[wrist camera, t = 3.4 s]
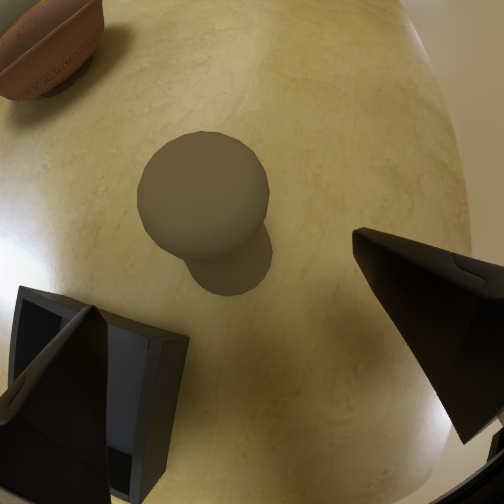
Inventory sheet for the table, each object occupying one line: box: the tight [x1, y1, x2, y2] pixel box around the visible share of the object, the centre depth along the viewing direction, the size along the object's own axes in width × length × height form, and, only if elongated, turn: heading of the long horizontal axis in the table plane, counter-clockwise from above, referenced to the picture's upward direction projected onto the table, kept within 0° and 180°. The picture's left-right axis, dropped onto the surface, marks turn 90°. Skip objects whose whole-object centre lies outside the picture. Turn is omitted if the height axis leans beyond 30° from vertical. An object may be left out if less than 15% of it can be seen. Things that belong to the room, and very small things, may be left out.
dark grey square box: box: [8, 286, 190, 504], centre depth 15 cm, size 11×11×6 cm
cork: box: [137, 131, 272, 296], centre depth 15 cm, size 6×6×11 cm
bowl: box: [0, 0, 104, 101], centre depth 22 cm, size 22×22×11 cm
